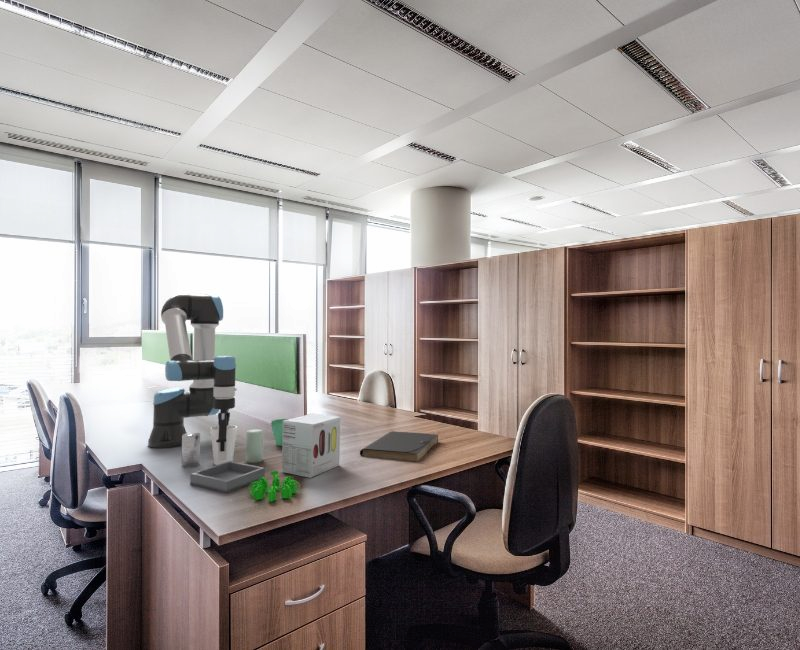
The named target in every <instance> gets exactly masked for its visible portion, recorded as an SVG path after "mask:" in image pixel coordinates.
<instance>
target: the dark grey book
mask: <svg viewBox="0 0 800 650" xmlns="http://www.w3.org/2000/svg"><path fill="white" fill-rule="evenodd" d="M437 443H439V434H433V433H423V432H407V431H393V430H392V431H389V432H388V433H386V434H384V435H383V436H381V437H379V438H378V439H376V440H375V441H373V442H371V443H370V444H369V445H366V446H364V448H361V449H360V450H359V455H360V456H361V457H366V458H367V457H370V458H377V459H387V460H397V461H399V460H400V461H406V462H408V461H409V462H415V463H416V462H418V461H420V460H421V459H422V458H423V457H424V456H425V455H426V453H429V450H430V451H431V450H432V447H433V446H435V445H436V444H437Z"/></svg>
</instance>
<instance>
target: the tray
mask: <svg viewBox="0 0 800 650" xmlns="http://www.w3.org/2000/svg"><path fill="white" fill-rule="evenodd" d="M265 470H266V468H265V467H262V466H257V465H252V464H247V463H242V462H237V461H236V462H235V461H234V460H233V461H229V462H226V463H222V464H219V465H212V466H210V467H208V468H207V467H206V468H203V469H200V470H197V471H195V472H192V473H190V476H189V477H190V479H189V480H190V486H195V487H198V488H202V489H206V490H211V491H214V492H219V493H222V494H228V493H231V492H234V491H237V490H238V489H241V488H244V487H246V486H249V485H250V484H251V483H253V482H258V480H259V479H260V478H261V479H262V477H264V478H265V477H266V476H265V474H266V471H265ZM261 479H260V480H261ZM265 479H266V478H265ZM253 484H254V483H253ZM251 485H252V484H251Z"/></svg>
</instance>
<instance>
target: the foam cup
mask: <svg viewBox="0 0 800 650" xmlns="http://www.w3.org/2000/svg"><path fill="white" fill-rule="evenodd" d="M209 432H210V433H209V435H210V439H211V446H212V447H211V449H212V457H213V462H214V463H213V465H214V466H216V465H219V464H222V463H226V462H229V461H233V462H234V453H235V447H236V441H237V440H236V439H237V434H238V426H237V425H234V424H229V425H227V434H226V439H227V455H226V460H219V461H218V442H216V440H218V438H219V424H218V425H214V426H210V431H209Z"/></svg>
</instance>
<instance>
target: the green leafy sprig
mask: <svg viewBox="0 0 800 650" xmlns="http://www.w3.org/2000/svg"><path fill="white" fill-rule="evenodd" d="M270 476H273V478H272V481H271V482H272V483H271V484H272V486H270V485H269V484H268V480H267V478H264V477H262V479H261V478H260V479H261V480H260V479H259V480H258V481H257V482H253V483H251V484H249V485H248V488H247V489H248V490H247V491H248V494H249V495H250V496H252V498H253V500H254V501H256V502H257V501H258V500H263V499H264V498H265V496H266V494H267V492H268V498H267V499H268V501H269V502H270V503H273V502H274V501H276V499H277V491H280V494H281V497H282V498H283V499H287V500H290V499H291V498H292V494H298V493H299V491H300V489H301V488H300V486H301V484H300V483H299V482H298V481H297V480H294V477H292V476H286V477H284V479H283V481H282V484H281V483H280V481H281V479H280V477H278V476H279V471H277V470H274V471H273V470H272V471H270ZM297 485H298V490H297ZM251 486H252V487H251ZM250 487H251V492H250Z"/></svg>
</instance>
